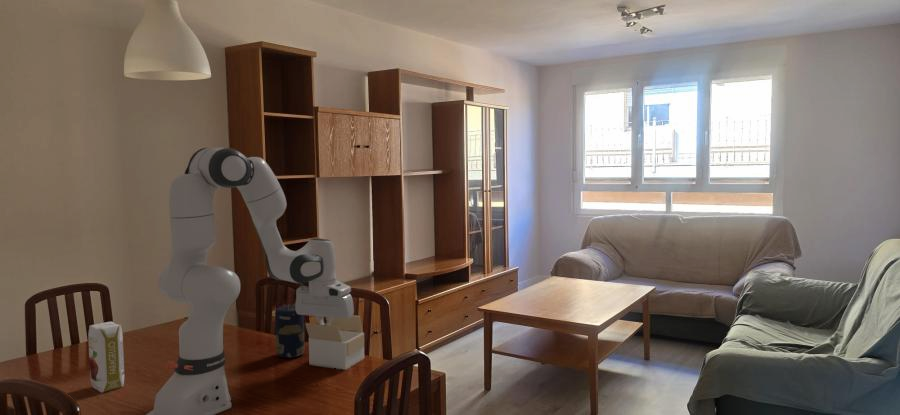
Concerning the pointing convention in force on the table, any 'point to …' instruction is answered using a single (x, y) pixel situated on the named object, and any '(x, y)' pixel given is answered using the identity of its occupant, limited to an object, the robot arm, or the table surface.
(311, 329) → the flap near
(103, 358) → the juice carton
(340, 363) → the carton
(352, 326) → the flap far
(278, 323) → the canister
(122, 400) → the table surface
